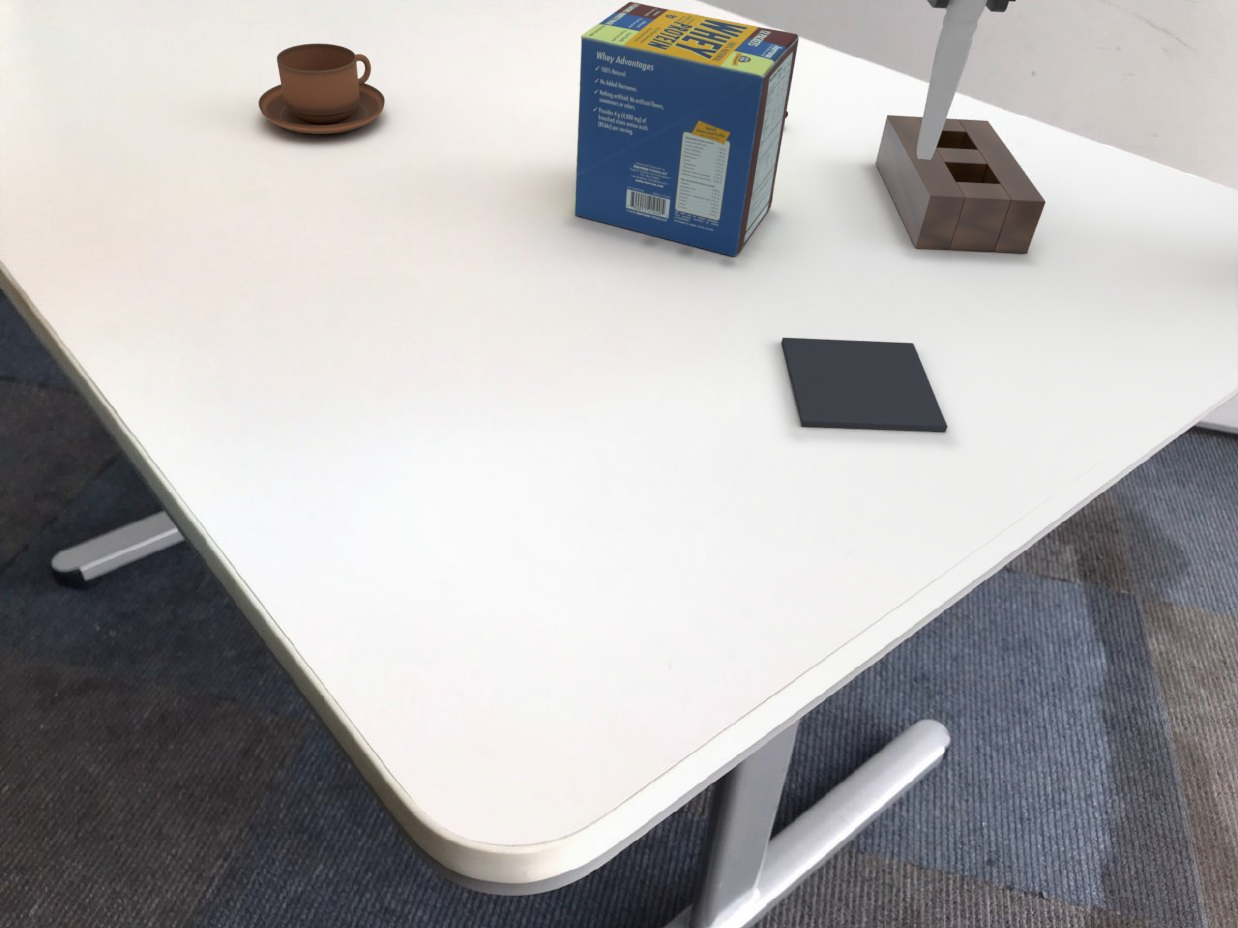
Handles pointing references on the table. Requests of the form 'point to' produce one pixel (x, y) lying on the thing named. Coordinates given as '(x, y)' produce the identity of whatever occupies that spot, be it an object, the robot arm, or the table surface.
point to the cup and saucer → (321, 91)
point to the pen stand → (959, 187)
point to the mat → (861, 385)
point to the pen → (947, 69)
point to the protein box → (681, 124)
